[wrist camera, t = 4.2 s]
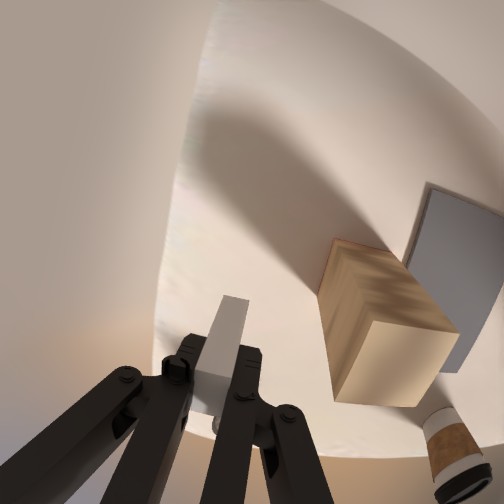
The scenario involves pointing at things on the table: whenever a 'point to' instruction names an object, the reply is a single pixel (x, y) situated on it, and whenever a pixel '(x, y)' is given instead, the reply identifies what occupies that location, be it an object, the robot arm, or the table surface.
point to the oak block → (380, 328)
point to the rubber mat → (459, 266)
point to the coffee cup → (454, 458)
